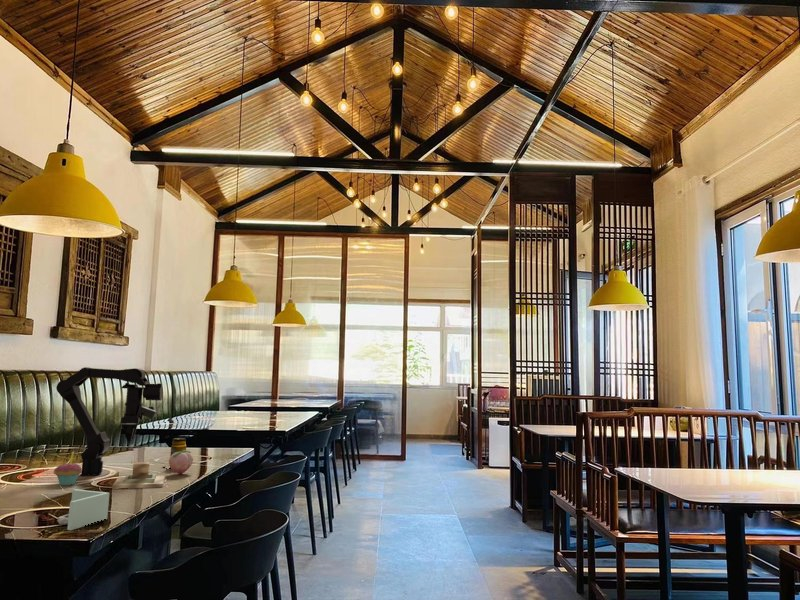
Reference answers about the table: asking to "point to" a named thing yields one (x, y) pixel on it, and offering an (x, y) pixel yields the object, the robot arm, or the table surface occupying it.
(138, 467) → the block
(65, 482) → the cupcake
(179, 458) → the decorative fruit
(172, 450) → the condiment
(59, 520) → the l-shaped corner panel
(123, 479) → the board
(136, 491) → the table surface
